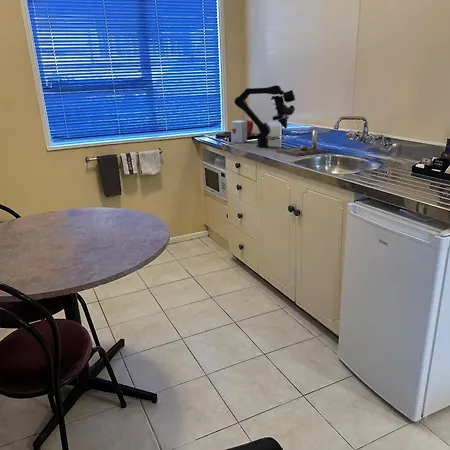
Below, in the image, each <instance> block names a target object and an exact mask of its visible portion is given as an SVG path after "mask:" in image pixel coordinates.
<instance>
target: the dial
mask: <svg viewBox="0 0 450 450" xmlns="http://www.w3.org/2000/svg"><path fill="white" fill-rule="evenodd" d="M318 134H319V133H318V130H317V129H315V130H312V137H311V138H312V139H311V148H307V147H309V146H308V145H300V146H299V147H300V149H291V151H293V150H307V149H316V148H317V146H318ZM317 149H318V148H317Z"/></svg>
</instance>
